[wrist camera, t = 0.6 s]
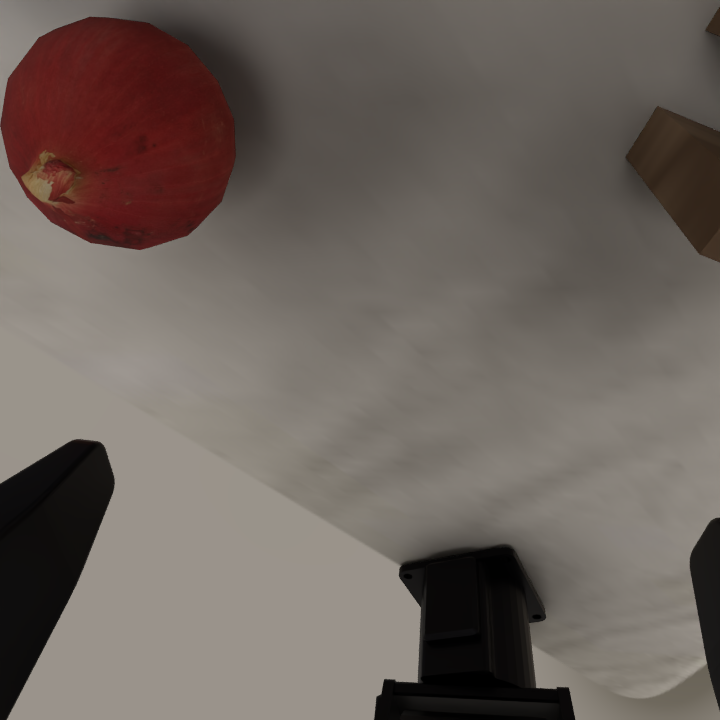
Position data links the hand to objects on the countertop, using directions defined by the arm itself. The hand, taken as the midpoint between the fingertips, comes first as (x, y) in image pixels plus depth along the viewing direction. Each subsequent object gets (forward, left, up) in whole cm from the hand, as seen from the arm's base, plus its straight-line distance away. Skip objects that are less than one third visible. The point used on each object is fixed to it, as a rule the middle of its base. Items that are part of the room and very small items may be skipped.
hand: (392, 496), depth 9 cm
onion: (+6, +6, -14) cm, 16 cm away
